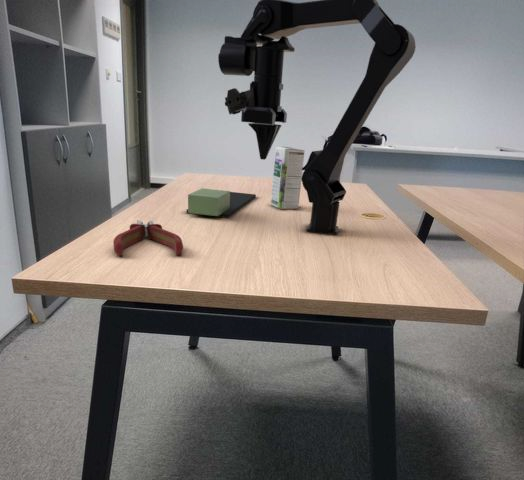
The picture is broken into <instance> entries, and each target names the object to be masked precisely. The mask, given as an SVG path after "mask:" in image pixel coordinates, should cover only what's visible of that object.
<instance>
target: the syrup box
mask: <svg viewBox="0 0 524 480" xmlns="http://www.w3.org/2000/svg"><path fill="white" fill-rule="evenodd" d="M304 160H305V149H300V148H296V147H292V146H276V147H275V152H274V161H273V162H274V163H273V173H272V185H271V187H272V188H271V197H270V198H271V199H270V205H271V206H272V207H275V208H276V209H279V210H297V209H299V205H300V197H301V188H302V180H301V179H302V175H303V172H304V170H302V168H303V167H304Z"/></svg>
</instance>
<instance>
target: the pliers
mask: <svg viewBox="0 0 524 480" xmlns="http://www.w3.org/2000/svg"><path fill="white" fill-rule="evenodd" d="M146 236H147V238H148V239H149V240H153V241H156V242H158V243H160V244H162V245H165V246H167V247H170V248H172V249H173V250H174V253H175V255H176V256H178V255H181V254H182V253H183V251H184V246H183V245H184V244H183V240H182V238H181V237H180V236H179V235H178V234H177V233H174V232H172V231H169V230H166V229H163V226H162V225H161V224H159V223H154V222H153V220H149V221H148V222H147V223H144V222H143V221H142V220H139V219H137V220H136V223H132V224H130V225H129V229H128V230H126V231H123V232H120V233H119V234H117V235H116V236H115V237H114V238H113V241H112V242H113V243H112V244H113V250H114V252H115V254H116V255H117V256H122V257H123V250H124V249H126V248H127V247H129V246H131V245H133V244H135V243H137V242H139V241H141V240H143V241H144V239H145V238H146Z"/></svg>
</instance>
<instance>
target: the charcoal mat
mask: <svg viewBox="0 0 524 480" xmlns="http://www.w3.org/2000/svg"><path fill="white" fill-rule="evenodd" d="M256 197H257V194H255V193H245V192H235V191H230V208H229V209H228V210H226V211H225V212H223V213H222V214H220V215H219V216H215V217H216V218H224V219H225V218H227V219H228V218H230V217H232V215H234V214H235V213H237V212H238V211H239V210H241V209H242V208H243V207H245V206H246V205H247V204H249V203H250V202H251V201H253V200H254V199H256ZM186 214H189V215H195V214H194V213H188V208H187V209H186ZM197 215H199V216H204V215H203V214H197ZM206 216H207V217H213V216H212V215H206Z"/></svg>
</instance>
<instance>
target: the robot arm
mask: <svg viewBox="0 0 524 480" xmlns="http://www.w3.org/2000/svg"><path fill="white" fill-rule="evenodd" d="M356 24H357V25H358V24H360V25H361V26H362V28H363V29H364V30H365V32H366V33H367V35H368V36H369V38H371V40H372V41H373V42H374V45H373V47H372V50H371V52H370V56H369V59H368V63H367V68H366V71H365V74H364V78H363V79H362V81H361V83H360V84H359V86H358V88H357V90H356V92H355V93H354V95H353V97H352V98H351V101H350V103H349V104H348V107H347V108H346V110H345V111H344V113H343V115H342V117H341V119H340V120H339V122H338V124H337V126H336V128H335V129H334V131H333V133H332V135H331V137H330V138H329V140H328V142H327V143H326V146H324V148H323V149H320V150H313V151H311V152H310V154H309V157H308V159H307V162H306V164H305V165H303V168H302V170H303V171H302V179H301V184H302V187H303V188H304V190H305V191H306V194H307V199H308V202H309V203H310V204H311V212H310V222H309V224H308V225H307V227H306V232H310V233H318V234H327V235H337V234H338V230H339V226H338V225H337V224H338V217H339V210H340V201H343V200H344V198H345V196H346V194H347V190H346V188H345V187H344V186H343V184H342V183H341V182H340V179H339V178H340V175H341V173H342V170H343V167H344V162H345V158H346V155H347V153H348V152H349V150H350V149H351V147H352V145H353V143H354V141H355V140H356V138H357V136H358V135H359V133H360V131H361V129H362V128H363V126H364V124H365V123H366V121H367V120H368V118H369V116H370V115H371V112H372V111H373V109H374V108H375V106H376V104H377V102H378V100H380V97H381V95H382V94H383V92H384V91H385V89H386V88H387V86H388V85H389V84H390V83H391V82H392V81H393V80H394V79H396V77H397V76H398V75H399V74H400V73H402V71H403V70H404V68H405V67H406V66H407V64H408V63H409V62H410V61H411V59H412V58H413V56H414V54H415V53H416V47H417V46H416V39H415V37H414V35H413V34H412V33H411V32H410V31H409V30H408V29H407V28H406V27H404V26H403V25H401V24H398V23H394V21H393V20H392V19H391V18H390V16H388V14H387V13H386V12H385V11H384V10H383V8H382V7H381V6H380V5H379V2H378V0H312V1H304V2H295V1H289V0H259V1H258V2H257V4H256V6H255V7H254V9H253V12H252V17H251V18H250V20H249V22H248V24H247V25H246V27H245V29H244V30H243V32H242V34H241V35H240V37H237V36H236V37H234V36H231V35H225V36H224V43H223V44H222V45H221V46H220V50H219V53H218V57H217V59H218V61H217V62H218V67H219V70H220V73H222V74H223V75H225V76H240V77H241V76H242V77H243V76H244V77H250V76H252V74H253V73H254V75H253V80H252V81H251V82H250V83H249V89H247V90H244V91H239V89H238V88H234V87H233V88H231V89H227V93H226V96H225V97H224V100H225V102H224V106H225V107H227V111H228V115H237V114H240V113H241V116H240V117H241V119H240V122H242V123H247V124H248V126H249V127H250V128H251V129H252V130H253V131H254V133H255V136H256V141H257V147H258V148H257V149H258V155H259V159H260V160H263V161H264V160H267V159H268V158H267V157H268V156H269V153H270V151H271V149H272V146H273V145H274V142H275V140H276V138H277V136H278V134H279V131H280V129H282V128H281V127H282V124H277V123H283V124H286V123H287V118H288V117H287V116H288V113H287V112H286V110H285V109H284V108H283V106H282V105H281V100H282V99H281V98H282V91H283V90H284V83H283V72H284V57H285V53H294V52H295V51H296V50H295V47H294V46H293V45H292V44H291V43H290V40H289V37H291V36H293V35H295V34H297V33H298V32H300V31H304V30H309V29H316V28H318V29H319V28H327V27H328V28H329V27H336V26H337V27H338V26H347V25H356Z"/></svg>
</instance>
